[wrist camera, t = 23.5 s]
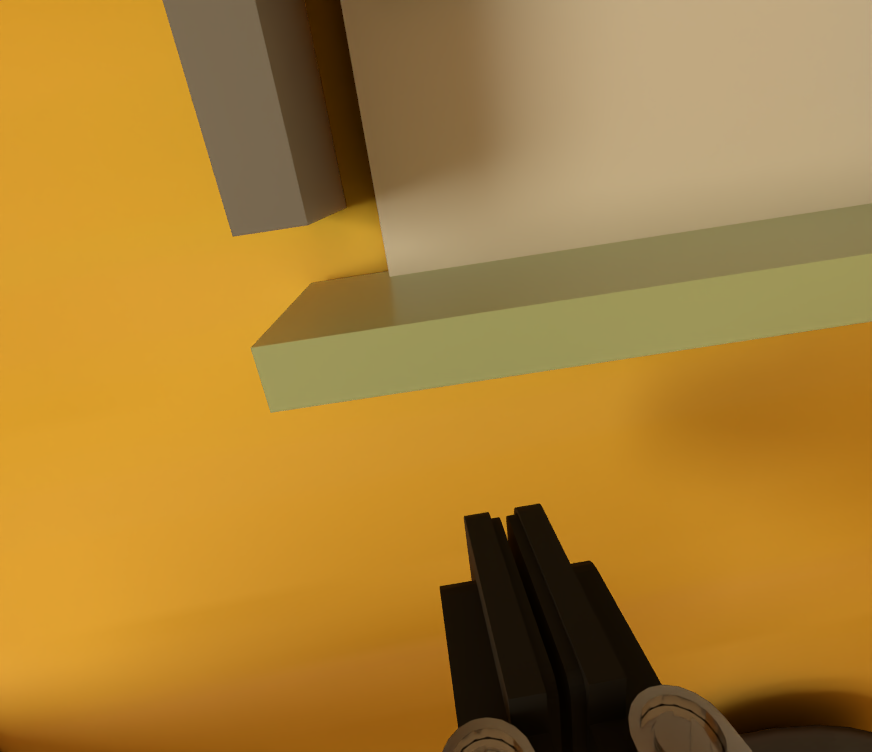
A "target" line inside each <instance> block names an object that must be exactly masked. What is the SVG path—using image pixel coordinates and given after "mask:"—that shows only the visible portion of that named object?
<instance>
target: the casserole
mask: <svg viewBox="0 0 872 752" xmlns="http://www.w3.org/2000/svg"><path fill="white" fill-rule="evenodd" d="M740 737H741V738H742V739H743V740H744V742H745V743H746V744H747V745H748V746H749V748H750V749H751V750H752V751H753V752H872V732H868V731H864V730H859V729H855V728H850V727H837V726H820V725H811V726H798V727H785V728H773V729H766V730H761V731H756V732H751V733H746V734H740Z"/></svg>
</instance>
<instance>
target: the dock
mask: <svg viewBox="0 0 872 752" xmlns="http://www.w3.org/2000/svg"><path fill="white" fill-rule="evenodd" d="M163 3H164V7H165V10H166V13H167V17H168V20H169V23H170V27H171V30H172V33H173V37H174V40H175V44H176V47H177V50H178V54H179V57H180V60H181V64H182V67H183V71H184V74H185V77H186V81H187V84H188V87H189V91H190V94H191V97H192V101H193V104H194V108H195V111H196V114H197V118H198V121H199V124H200V128H201V131H202V134H203V138H204V141H205V145H206V148H207V151H208V155H209V158H210V161H211V165H212V168H213V172H214V175H215V178H216V182H217V185H218V188H219V192H220V195H221V198H222V202H223V205H224V209H225V212H226V215H227V219H228V222H229V225H230V229H231V232H232V235H233V236H240V235H246V234H253V233H260V232H266V231H273V230H279V229H286V228H292V227H299V226H305V225H309V224H311V223H314V222H316V221H318V220H320V219H322V218H325V217H327V216H329V215H331V214H334V213H336V212H338V211H340V210H342V209H345V208H347V207H346V202H345V197H344V192H343V188H342V183H341V178H340V173H339V168H338V163H337V158H336V153H335V148H334V143H333V138H332V133H331V128H330V123H329V118H328V113H327V108H326V104H325V99H324V94H323V89H322V84H321V79H320V74H319V69H318V64H317V59H316V54H315V49H314V44H313V39H312V34H311V29H310V24H309V19H308V15H307V10H306V5H305V0H163Z"/></svg>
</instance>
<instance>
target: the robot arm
mask: <svg viewBox="0 0 872 752" xmlns="http://www.w3.org/2000/svg"><path fill="white" fill-rule="evenodd" d="M506 522H507V534H508V540H507V537H506V534H505V531H504V528H503V525H502V522H501V520H500V518H499V517H498V518H492V519H491V517H490V514H489V512H486V513H480V514H474V515H468V516H464V523H465V531H466V539H467V547H468V554H469V562H470V570H471V578H472V581H468V582H462V583H457V584H451V585H445V586H440V593H441V601H442V608H443V616H444V624H445V631H446V639H447V646H448V654H449V661H450V669H451V676H452V684H453V692H454V699H455V707H456V714H457V722H458V729H457V730H456V731H455V732H454V734H453V735H452V736H451V737H450V738H449V739H448V741H447V743H446V745H445V747H444V749H443V751H442V752H753V751H752V750H751V749H750V748H749V746H748V745H747V744H746V743H745V742H744V740H743V739H742V738H741V737H740V735H739V734H738V733H737V732H736V730H735V729H734V728H733V727H732V725H731V724H730V723H729V722H728V720H727V719H726V718H725V717H724V716H723V715H722V714H721V713H720V712H719V711H718V710H717V709H716V708H715V707H714V706H713V705H712V704H711V703H710V702H708V701H707V700H705V699H704V698H702V697H701V696H699V695H698V694H696V693H694V692H692V691H689V690H686V689H684V688H681V687H678V686H670V685H661V683H660V681H659V679H658V677H657V676H656V674H655V672H654V670H653V668H652V667H651V665H650V663H649V661H648V659H647V658H646V656H645V654H644V652H643V651H642V649H641V647H640V645H639V643H638V642H637V640H636V638H635V636H634V634H633V633H632V631H631V629H630V627H629V626H628V624H627V622H626V620H625V618H624V617H623V615H622V613H621V611H620V609H619V608H618V606H617V604H616V602H615V601H614V599H613V597H612V595H611V593H610V592H609V590H608V588H607V586H606V584H605V583H604V581H603V579H602V577H601V575H600V574H599V572H598V570H597V568H596V567H595V566H594V564H593V563H592V562H591V561H584V562H578V563H573V564H570V562H569V560H568V558H567V556H566V554H565V552H564V550H563V548H562V546H561V544H560V542H559V540H558V538H557V536H556V534H555V532H554V530H553V528H552V526H551V524H550V522H549V520H548V518H547V516H546V514H545V512H544V510H543V508H542V506H541V505H540V504H534V505H528V506H522V507H516V508H514V515H510V516H507V517H506Z"/></svg>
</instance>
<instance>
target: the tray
mask: <svg viewBox="0 0 872 752" xmlns="http://www.w3.org/2000/svg"><path fill="white" fill-rule="evenodd" d="M340 1H341V7H342V12H343V18H344V23H345V29H346V35H347V40H348V46H349V51H350V57H351V63H352V68H353V74H354V80H355V85H356V91H357V96H358V102H359V108H360V113H361V119H362V124H363V130H364V136H365V141H366V147H367V152H368V158H369V164H370V169H371V175H372V180H373V186H374V192H375V197H376V203H377V208H378V214H379V220H380V225H381V231H382V236H383V242H384V248H385V253H386V259H387V264H388V270H389V271H386V272H379V273H373V274H366V275H359V276H353V277H346V278H340V279H333V280H327V281H320V282H314V283H311V284H310V285H309V286H308V287H307V288H306V289H305V290H304V291H303V292H302V293H301V295H300V296H299V297H298V298H297V299H296V300H295V301H294V302H293V303H292V304H291V305H290V306H289V307H288V308H287V310H286V311H285V312H284V313H283V314H282V315H281V316H280V317H279V318H278V319H277V320H276V321H275V322H274V323H273V325H272V326H271V327H270V328H269V329H268V330H267V331H266V332H265V333H264V334H263V335H262V336H261V337H260V338H259V340H258V341H257V342H256V343H255V344H254V345H253V346H252V347H251V350H252V354H253V357H254V360H255V363H256V367H257V370H258V373H259V376H260V379H261V383H262V386H263V389H264V392H265V396H266V399H267V402H268V405H269V408H270V412H271V413H272V412H278V411H285V410H291V409H298V408H305V407H311V406H318V405H324V404H331V403H338V402H344V401H351V400H357V399H364V398H371V397H377V396H384V395H390V394H397V393H403V392H410V391H417V390H423V389H430V388H436V387H443V386H450V385H456V384H463V383H469V382H476V381H483V380H489V379H496V378H502V377H509V376H515V375H522V374H529V373H535V372H542V371H548V370H555V369H562V368H568V367H575V366H581V365H588V364H595V363H601V362H608V361H614V360H621V359H627V358H634V357H641V356H647V355H654V354H660V353H667V352H674V351H680V350H687V349H693V348H700V347H707V346H713V345H720V344H726V343H733V342H739V341H746V340H753V339H759V338H766V337H772V336H779V335H786V334H792V333H799V332H805V331H812V330H819V329H825V328H832V327H838V326H845V325H851V324H858V323H865V322H871V321H872V0H340Z"/></svg>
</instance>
